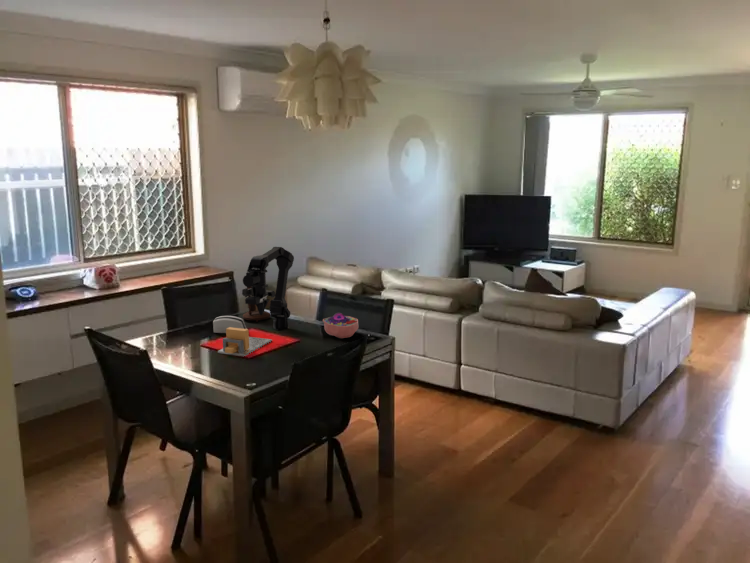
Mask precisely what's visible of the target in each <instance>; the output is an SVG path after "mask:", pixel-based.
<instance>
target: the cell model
mask: <svg viewBox="0 0 750 563" xmlns="http://www.w3.org/2000/svg"><path fill="white" fill-rule="evenodd" d="M322 323H323V325H324V326H323V328H324V332H326V333H327V334H328V335H329V336H333V337H336V338H338V339H345V338H346V339H347V338H351V337H352V336H354V334H355V333H356V332H357V331H358V330H359V319H358V318H357V317H353V316H349V315H344V314H343V313H341V312H336V313H335V314H334V315H331V316H329V317H325V318H323V319H322Z"/></svg>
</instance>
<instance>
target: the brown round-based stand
mask: <svg viewBox="0 0 750 563" xmlns="http://www.w3.org/2000/svg"><path fill="white" fill-rule="evenodd" d="M246 288H247V289H251V288H252V286H251V287H246ZM250 296H251V295H250ZM250 296H247V297H250ZM253 297H255V296H253ZM247 308H248V311H246V312H245V313H244V314H242V319H243V320H244V321H245V320H247V321H255V322H256V323H259V321H262V320H263V321H264V320H266V319H270V318H271V314H270V311H269V312H268V311H267V310H264V312H263V314H262V315H260V314H259V311H258V308H257V306H256V305H254V304H247Z"/></svg>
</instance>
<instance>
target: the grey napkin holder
mask: <svg viewBox="0 0 750 563" xmlns="http://www.w3.org/2000/svg"><path fill="white" fill-rule="evenodd" d="M212 326H213V328H212V329H213V333H215V334H216V333H217V334H226V329H227V328H229V327H233V328H241V329H248V327H247V326H246V323H245V320H244V319H243V317H242V318H241V317H239V316H235V315H220V316H217V317H215V318H214V320H213V321H212Z"/></svg>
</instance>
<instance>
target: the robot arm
mask: <svg viewBox="0 0 750 563" xmlns="http://www.w3.org/2000/svg"><path fill="white" fill-rule="evenodd" d="M274 260H276V266H277V268H278V273H277V280H276V281H277V282H276V289H275V290H270V289H269V290H268V289H267V288H268V287H269V286H268V285H269V284H267V280H266V277H267V275H266V273H268V269H267V268H268V267H269V265H270V264H269V263H270V262H272V261H274ZM294 261H295V257H294V255H293V253H291V252H290V251H289V250H287V249H285V248H284V247H282V246H273V247H272V248H271V249H270V250H268V251H266V252H264V253H263V254H261V255H256V256H252V257H251V259H250V262H249V264H248V267H247V270H246V273H245V275H244V276H243V277H242V283H243V285H244V286H245V288H243V289H242V290H241V292H242V293H241V296H244V298H245V299H244V304H245V305H248V304H254V305H256V306H257V308H258V311H259V314H260V315H262V314H263V312H264V311H266V309H267V308H266V307H267V305H268V303H269V313H270V318H273V321H272V323H273V324H272V326H273V327H272V329H274V330H276V331H277V332H278V331H284V330H289V329H290V327H289V326H288V325H289V323H288V321H289V320H288V319H289V318H290V317H291V311H290V310H289V309H288V303H287V299H286V290H287V285H288V284H287V283H288V276H289V270H290V269H291V268H292V267H293V264H294ZM251 286H252V288H251V289H247V287H251ZM250 295H251V296H250ZM248 296H250V297H248ZM254 296H255V297H254ZM267 297H271V298H273V299H271V300H270V299H268V298H267Z"/></svg>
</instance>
